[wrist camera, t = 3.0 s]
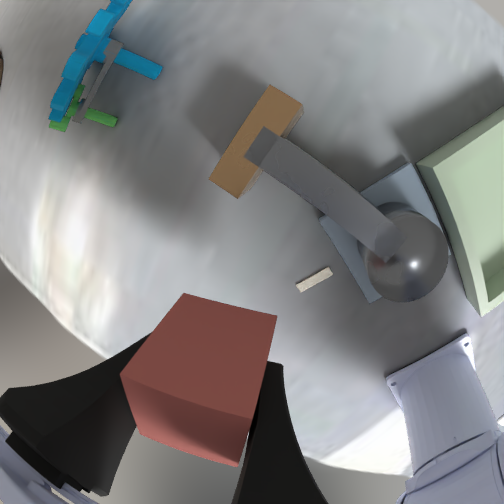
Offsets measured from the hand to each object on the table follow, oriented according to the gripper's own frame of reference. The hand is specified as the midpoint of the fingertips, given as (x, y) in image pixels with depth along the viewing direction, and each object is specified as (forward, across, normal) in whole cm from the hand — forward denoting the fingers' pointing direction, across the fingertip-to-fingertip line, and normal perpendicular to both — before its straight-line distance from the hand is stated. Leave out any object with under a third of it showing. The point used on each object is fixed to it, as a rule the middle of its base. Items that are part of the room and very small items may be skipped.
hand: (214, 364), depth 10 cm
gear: (+8, +11, -14) cm, 19 cm away
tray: (+8, -16, -9) cm, 20 cm away
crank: (+7, -4, -6) cm, 11 cm away
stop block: (+2, 0, 0) cm, 2 cm away
